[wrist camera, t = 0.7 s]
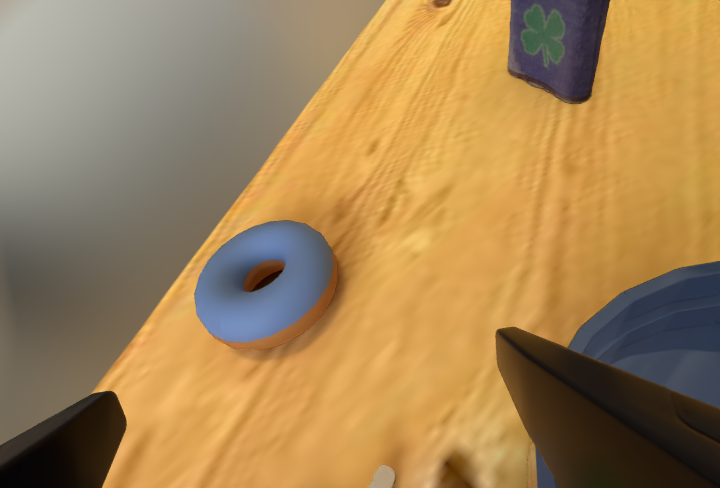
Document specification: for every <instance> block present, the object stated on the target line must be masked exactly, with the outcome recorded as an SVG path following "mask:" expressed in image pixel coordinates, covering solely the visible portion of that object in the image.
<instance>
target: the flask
mask: <svg viewBox="0 0 720 488" xmlns="http://www.w3.org/2000/svg"><path fill="white" fill-rule="evenodd" d="M609 2H610V0H511V19H510V41H509V55H508V71H509V72H510V73H511V74H512V75H513V76H514V77H516V78H518V77H520V78H522V79H523V80H526V82H528V83H529V84H531V86H535V87H539V88H545V89H546V92H550V93H553V94H554V95H555V97H558V98H560V99H562V100H563V101H565V102H566V103H573V102H574V103H579V104H581V103H582V102H584V101H586V100H588V99H589V98H590V97H591V92H592V86H593V82H594V78H595V72H596V67H597V63H598V57H599V52H600V45H601V40H602V36H603V32H604V28H605V23H606V17H607V12H608V8H609Z"/></svg>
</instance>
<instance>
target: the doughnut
mask: <svg viewBox="0 0 720 488" xmlns="http://www.w3.org/2000/svg"><path fill="white" fill-rule="evenodd" d="M281 270H283V272H282V273H281V274H280V275H279V277H278V278H276V279H275V280H274V281H273V282H271V283H270V284H269V285H267V286H265V287H263V288H261V289H259V290H256V291H253V292H252V290H253V289H254V287H255V286H256V285H257V284H258V283H259V282H260V281H261V280H262V279H264V278H265V277H266V276H268V275H270V274H272V273H274V272H277V271H281ZM337 280H338V271H337V261H336V256H335V255H334V253H333V251H332V249H331V247H330V246H329V244H328V242H327V241H326V239H325V238H324V236H323V235H322V234H321V233H320V232H318V231H316V230H315V229H313V228H312V227H310V226H309V225H307V224H305V223H300V222H295V221H289V220H284V221H271V222H267V223H264V224H260V225H257V226H253V227H251V228H249V229H247V230H245V231H243V232H241V233H239V234H237V235H236V236H235V237H233V238H232V239H231V240H229V241H228V242H226V243H225V244H224V245H222V246H221V247H220V248H219V249H218V251H217V252H216V253H215V254H214V255H213V256H212V257H211V258H210V259H209V261H208V262H207V264H206V266H205V267H204V269H203V270H202V272H201V274H200V276H199V279H198V283H197V286H196V290H195V294H194V295H195V303H196V312H197V316H198V318H199V319H200V321H201V322H202V323H203V325H204V326H205V328H206V329H207V330H208V332H209V333H210V334H212V336H213V337H214V338H215V339H217V340H218V341H220V342H222V343H224V344H226V345H228V346H230V347H232V348H234V349H244V350H264V349H268V348H271V347H275V346H279V345H282V344H284V343H286V342H288V341H290V340H292V339H293V338H295V337H297V336H299V335H301V334H303V333H304V332H305V331H306V330H307V329H308V328H309V327H310V326H311V325H313V324H314V323H315V322H316V321H317V320H318V319H319V318H320V317H321V315H322V314H323V312H324V311H325V309H326V308H327V306H328V305H329V303H330V302H331V300H332V297H333V294H334V291H335V287H336V284H337Z"/></svg>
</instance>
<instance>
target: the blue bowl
mask: <svg viewBox="0 0 720 488" xmlns="http://www.w3.org/2000/svg"><path fill="white" fill-rule="evenodd" d="M567 348H569V349H571V350H574V351H576V352H579V353H581V354H584V355H586V356H589V357H591V358H594V359H596V360H599V361H601V362H604V363H606V364H609V365H611V366H614V367H616V368H619V369H621V370H624V371H626V372H629V373H631V374H634V375H636V376H639V377H641V378H644V379H646V380H649V381H651V382H654V383H656V384H659V385H661V386H664V387H666V388H669V389H670V391H677V392H679V393H682V394H684V395H687V396H689V397H691V398H694V399H696V400H699V401H702V402H704V403H707V404H709V405H712V406H715V407H717V408H720V261H716V262H711V263H705V264H699V265H693V266H688V267H682V268H678V269H674V270H672V271H670V272H667V273H665V274H663V275H661V276H658V277H656V278H654V279H651V280H649V281H647V282H644V283H642V284H640V285H637V286H635V287H633V288H630V289H628V290H626V291H623V292H622V293H620V294H619V295H618V296H616V297H615V298H614V299H613V300H612V301H611V302H609V303H608V304H607V305H606V306H605V307H603V308H602V309H601V310H600V311H599V312H597V313H596V314H595V315H594V316H593V317H591V318H590V319H589V320H588V321H587V322H586V323H584V324H583V325H582V326H581V327H580V329H578V331H577V332H576V334H575V336H574V337H573V339H572V341H571V342H570V344H569V346H568V347H567ZM527 461H528V462H527V477H528V488H560V487H559V486H558V484H557V482H556V480H555V479H554V477H553V475H552V474H551V472H550V470H549V469H548V467H547V465H546V463H545V462H544V460H543V458H542V457H541V455H540V453H539V451H538V450H537V448H536V446H535V445H534V443H533V441H532V442H531V446H530V451H529V455H528V460H527Z"/></svg>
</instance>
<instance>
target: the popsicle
mask: <svg viewBox="0 0 720 488" xmlns="http://www.w3.org/2000/svg"><path fill="white" fill-rule="evenodd" d="M395 480H396V473H395V472H394V470H392V469H391V468H390V467H388V466H386V465H380V466H379V467H378V469H377V470H376V473H375V475H374V477H373V479H372V481H371V483H370V485H369V487H368V488H393V485H394V483H395Z"/></svg>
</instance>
